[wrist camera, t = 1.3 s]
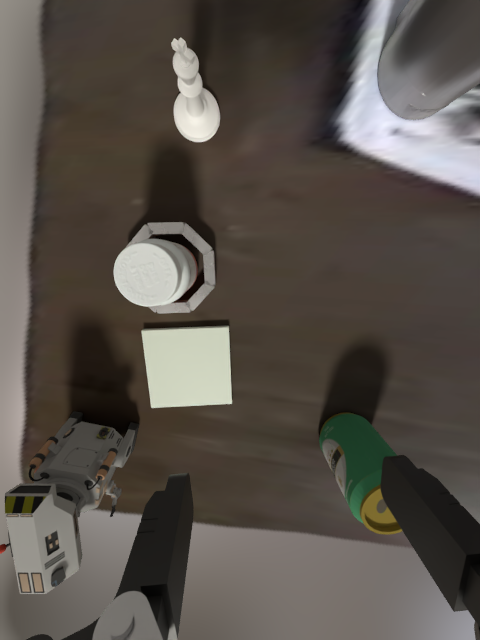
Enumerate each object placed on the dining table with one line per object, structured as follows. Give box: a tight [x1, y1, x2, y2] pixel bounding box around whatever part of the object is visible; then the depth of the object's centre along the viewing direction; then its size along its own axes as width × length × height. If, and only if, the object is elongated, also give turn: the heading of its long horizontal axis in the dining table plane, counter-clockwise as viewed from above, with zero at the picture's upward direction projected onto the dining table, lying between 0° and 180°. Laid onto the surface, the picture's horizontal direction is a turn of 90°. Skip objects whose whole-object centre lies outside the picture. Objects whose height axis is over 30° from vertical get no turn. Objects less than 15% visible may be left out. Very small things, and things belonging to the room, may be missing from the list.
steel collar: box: [127, 222, 216, 313], centre depth 31 cm, size 10×10×2 cm
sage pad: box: [142, 326, 232, 408], centre depth 34 cm, size 11×11×1 cm
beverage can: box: [319, 413, 402, 534], centre depth 33 cm, size 8×8×12 cm
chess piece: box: [171, 37, 220, 142], centre depth 23 cm, size 5×5×10 cm
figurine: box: [0, 411, 139, 594], centre depth 30 cm, size 9×12×15 cm
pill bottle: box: [114, 239, 198, 306], centre depth 26 cm, size 6×6×11 cm
